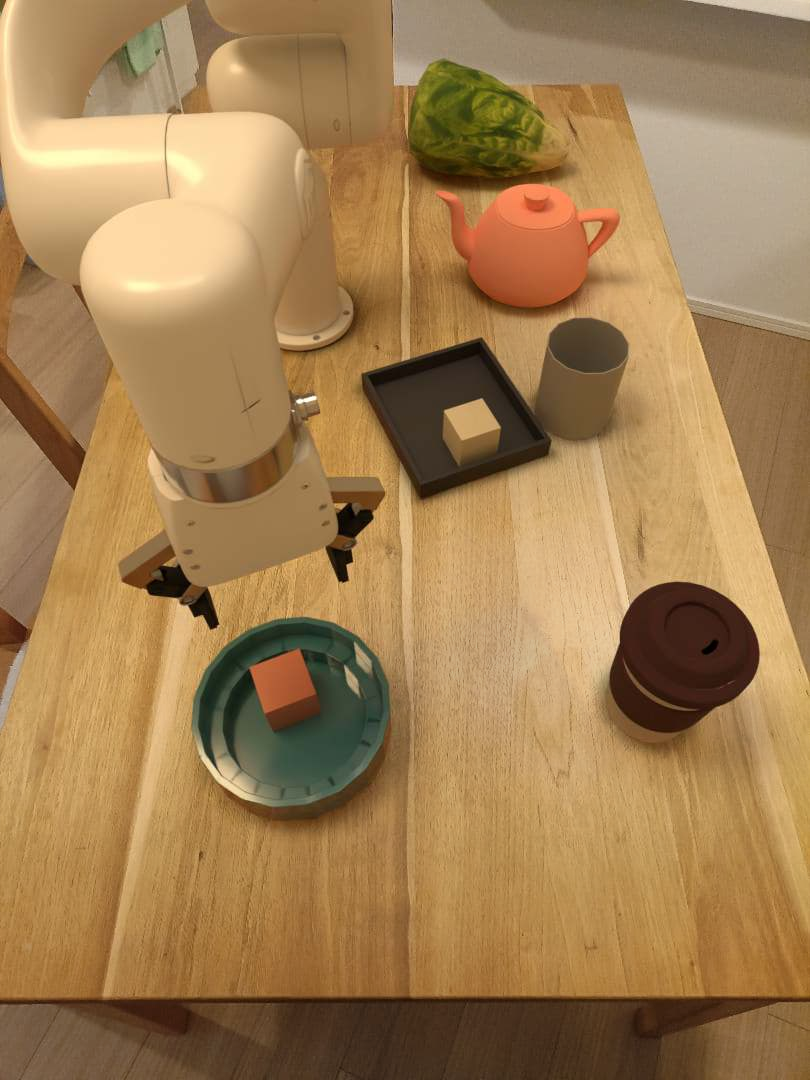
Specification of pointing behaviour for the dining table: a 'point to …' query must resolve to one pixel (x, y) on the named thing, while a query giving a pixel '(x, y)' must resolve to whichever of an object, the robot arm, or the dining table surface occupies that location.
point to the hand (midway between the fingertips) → (274, 588)
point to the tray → (442, 383)
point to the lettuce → (479, 126)
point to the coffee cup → (678, 660)
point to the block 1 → (285, 690)
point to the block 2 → (471, 432)
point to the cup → (580, 377)
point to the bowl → (304, 747)
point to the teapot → (529, 244)
